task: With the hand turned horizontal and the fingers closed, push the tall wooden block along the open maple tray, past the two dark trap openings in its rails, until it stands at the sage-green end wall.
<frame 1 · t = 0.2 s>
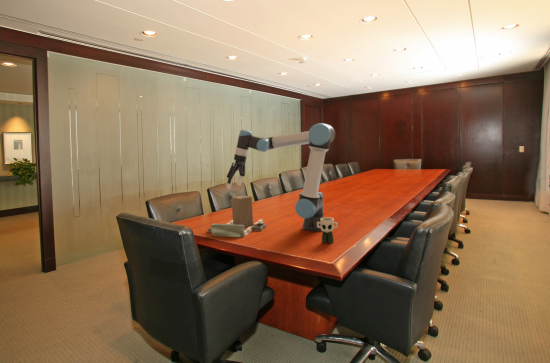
hand: (233, 186, 196), 28 cm above the table, tool tilted 20°, fingers open, 13 cm apart
character mug: (327, 242, 164), on the table
wooden block: (243, 226, 206), resting in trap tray
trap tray: (238, 228, 200), on the table
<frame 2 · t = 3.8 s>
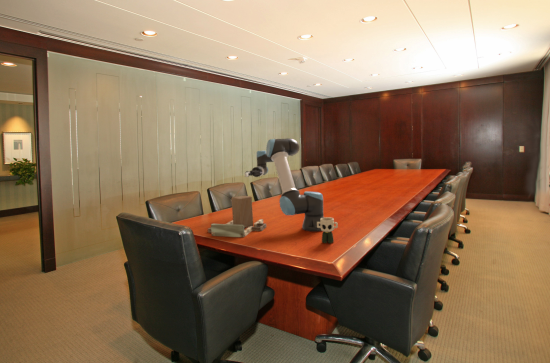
hand: (245, 174, 211), 34 cm above the table, tool horizontal, fingers closed
nothing on the table moved.
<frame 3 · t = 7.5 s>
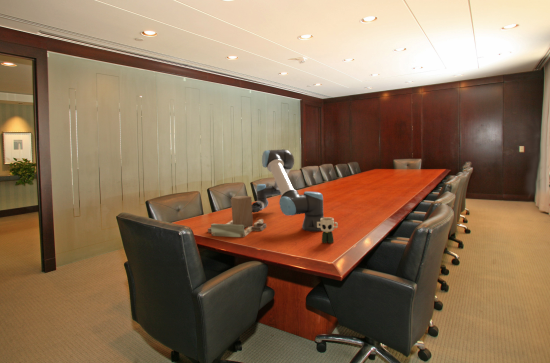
hand: (245, 213, 212), 7 cm above the table, tool horizontal, fingers closed
wooden block: (242, 226, 206), resting in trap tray, touching gripper
everything else where it was.
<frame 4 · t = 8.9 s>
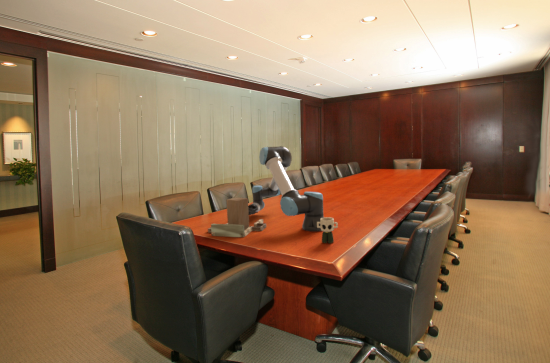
hand: (240, 215, 204), 7 cm above the table, tool horizontal, fingers closed
wooden block: (238, 229, 199), resting in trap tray, touching gripper
everything else where it was.
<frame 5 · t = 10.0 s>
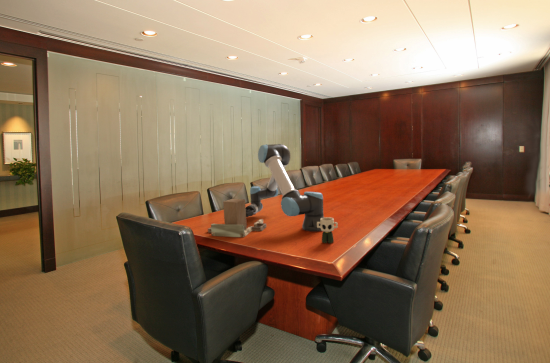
hand: (237, 217, 199), 7 cm above the table, tool horizontal, fingers closed
wooden block: (236, 231, 194), resting in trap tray, touching gripper
everything else where it was.
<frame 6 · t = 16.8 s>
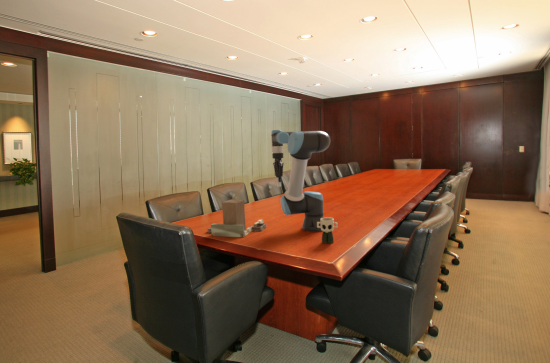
hand: (279, 186, 213), 24 cm above the table, tool pointing down, fingers closed
wooden block: (235, 232, 192), resting in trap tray
everything else where it was.
at the end: wooden block inside the target area (1.5 cm from its centre), resting in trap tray; wooden block tilted 0°; wooden block moved 15.3 cm from its start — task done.
